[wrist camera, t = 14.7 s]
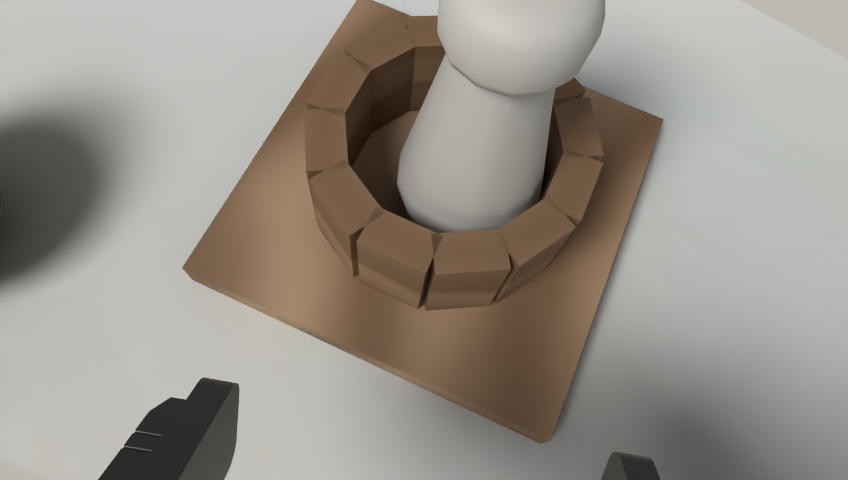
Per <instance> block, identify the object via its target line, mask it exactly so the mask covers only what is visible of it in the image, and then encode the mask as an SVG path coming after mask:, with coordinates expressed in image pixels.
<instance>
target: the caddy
mask: <svg viewBox="0 0 848 480" xmlns="http://www.w3.org/2000/svg"><path fill="white" fill-rule="evenodd" d="M437 24H438V16H409V15H407V14H404V13H402V12H400V11H397V10H395V9H392V8H390V7H387V6H385V5H382V4H380V3H378V2H375V1H373V0H357V1H356V2H355V4H354V5H353V7H352V8H351V10H350V11H349V13H348V14H347V16H346V18H345V19H344V21H343V22H342V24H341V25H340V27H339V28H338V30H337V31H336V33H335V34H334V36H333V37H332V39H331V41H330V42H329V44H328V45H327V47H326V48H325V50H324V51H323V53H322V54H321V56H320V57H319V59H318V60H317V62H316V64H315V65H314V67H313V68H312V70H311V71H310V73H309V74H308V76H307V77H306V79H305V80H304V82H303V83H302V85H301V87H300V88H299V90H298V91H297V93H296V94H295V96H294V97H293V99H292V100H291V102H290V103H289V105H288V106H287V108H286V110H285V111H284V113H283V114H282V116H281V117H280V119H279V120H278V122H277V123H276V125H275V126H274V128H273V129H272V131H271V133H270V134H269V136H268V137H267V139H266V140H265V142H264V143H263V145H262V146H261V148H260V149H259V151H258V152H257V154H256V156H255V157H254V159H253V160H252V162H251V163H250V165H249V166H248V168H247V169H246V171H245V172H244V174H243V175H242V177H241V179H240V180H239V182H238V183H237V185H236V186H235V188H234V189H233V191H232V192H231V194H230V195H229V197H228V198H227V200H226V202H225V203H224V205H223V206H222V208H221V209H220V211H219V212H218V214H217V215H216V217H215V218H214V220H213V221H212V223H211V225H210V226H209V228H208V229H207V231H206V232H205V234H204V235H203V237H202V238H201V240H200V241H199V243H198V244H197V246H196V248H195V249H194V251H193V252H192V254H191V255H190V257H189V258H188V260H187V261H186V263H185V264H184V266H183V267H182V268H183V269H184V270H185V271H186V273H187V274H188V275H189V276H190V277H191V278H192V280H194V281H197V282H199V283H201V284H203V285H205V286H207V287H209V288H211V289H214V290H216V291H218V292H220V293H222V294H224V295H226V296H228V297H231V298H233V299H235V300H237V301H239V302H241V303H243V304H245V305H248V306H250V307H252V308H254V309H256V310H258V311H260V312H263V313H265V314H267V315H269V316H271V317H273V318H275V319H277V320H280V321H282V322H284V323H286V324H288V325H290V326H292V327H294V328H297V329H299V330H301V331H303V332H305V333H307V334H309V335H311V336H314V337H316V338H318V339H320V340H322V341H324V342H326V343H328V344H331V345H333V346H335V347H337V348H339V349H341V350H343V351H345V352H348V353H350V354H352V355H354V356H356V357H358V358H360V359H362V360H365V361H367V362H369V363H371V364H373V365H375V366H377V367H379V368H382V369H384V370H386V371H388V372H390V373H392V374H394V375H397V376H399V377H401V378H403V379H405V380H407V381H409V382H411V383H414V384H416V385H418V386H420V387H422V388H424V389H426V390H428V391H431V392H433V393H435V394H437V395H439V396H441V397H443V398H445V399H448V400H450V401H452V402H454V403H456V404H458V405H460V406H462V407H465V408H467V409H469V410H471V411H473V412H475V413H477V414H479V415H482V416H484V417H486V418H488V419H490V420H492V421H494V422H496V423H499V424H501V425H503V426H505V427H507V428H509V429H511V430H513V431H516V432H518V433H520V434H522V435H524V436H526V437H528V438H530V439H533V440H535V441H537V442H539V443H544V442H547V441H551V438H552V435H553V433H554V430H555V427H556V424H557V421H558V418H559V415H560V413H561V410H562V407H563V404H564V401H565V398H566V395H567V393H568V390H569V387H570V384H571V381H572V378H573V375H574V373H575V370H576V367H577V364H578V361H579V358H580V355H581V353H582V350H583V347H584V344H585V341H586V338H587V336H588V333H589V330H590V327H591V324H592V321H593V318H594V316H595V313H596V310H597V307H598V304H599V301H600V298H601V296H602V293H603V290H604V287H605V284H606V281H607V278H608V276H609V273H610V270H611V267H612V264H613V261H614V258H615V256H616V253H617V250H618V247H619V244H620V241H621V238H622V236H623V233H624V230H625V227H626V224H627V221H628V218H629V216H630V213H631V210H632V207H633V204H634V201H635V198H636V196H637V193H638V190H639V187H640V184H641V181H642V178H643V176H644V173H645V170H646V167H647V164H648V161H649V158H650V156H651V153H652V150H653V147H654V144H655V141H656V138H657V136H658V133H659V130H660V127H661V124H662V121H663V119H661V118H659V117H656V116H654V115H651V114H649V113H646V112H644V111H641V110H639V109H637V108H634V107H632V106H629V105H627V104H624V103H622V102H619V101H617V100H615V99H612V98H610V97H607V96H605V95H602V94H600V93H597V92H595V91H593V90H590V89H588V88H585V87H583V86H582V85H581V84H580V83H579V82H578V81H577V80H576V79H575V78H573V79H571V80H570V81H568V82H566V83H564V84H563V85H561V86H559V87H557V88H555V94H554V100H553V106H552V112H551V120H550V127H549V135H548V143H547V150H546V158H545V166H544V174H543V181H542V189H541V197H540V201H539V203H537V204H536V205H534V206H533V207H531V208H530V209H528V210H527V211H525V212H523V213H522V214H520V215H519V216H517V217H516V218H514V219H513V220H511V221H510V222H508V223H507V224H505V225H504V226H502V227H501V228H499V229H495V230H480V231H464V232H449V233H436V232H434V231H431V230H429V229H427V228H425V227H422V226H420V225H418V224H416V223H415V222H414V221H413V220H412V219H411V218H410V217H409V215H408V213H407V210H406V208H405V205H404V202H403V200H402V197H401V195H400V192H399V189H398V185H397V179H398V170H399V161H400V154H401V151H402V149H403V147H404V145H405V142H406V140H407V138H408V136H409V134H410V131H411V129H412V127H413V125H414V123H415V120H416V118H417V116H418V114H419V111H420V109H421V107H422V105H423V103H424V100H425V98H426V96H427V94H428V91H429V89H430V87H431V85H432V83H433V80H434V78H435V76H436V74H437V71H438V69H439V67H440V65H441V63H442V60H443V58H444V56H445V54H446V52H445V50H444V48H443V46H442V43H441V41H440V39H439V36H438V33H437Z"/></svg>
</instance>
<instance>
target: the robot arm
mask: <svg viewBox="0 0 848 480" xmlns="http://www.w3.org/2000/svg"><path fill="white" fill-rule="evenodd" d="M238 404H239V385H238V384H237V383H232V382H226V381H220V380H215V379H209V378H201V379H200V381H199V382H198V383H197V385H196V386H195V388H194V389H193V391H192V392H191V394H190V395H189V396H188V398H187V399H186V400H184V399H178V398H172V397H171V398H169V399H168V400H166V401H164V402H163V403H161V404H160V405H158V406H157V407H155V408H154V409H152V410H151V411H149V412H148V414H147V415H146V416H145V418H144V419H143V420H142V422H141V423H140V424H139V426H138V427H137V428H136V431H135V433H133V434H132V435H131V436H130V438H129V439H128V440H127V442H126V443H125V444H124V448H123V449H121V450H120V451H119V453H118V454H117V455H116V457H115V458H114V459H113V461H112V462H111V463H110V465H109V466H108V467H107V469H106V470H105V471H104V473H103V474H102V475H101V477H100V478H99V479H98V480H224V478H225V476H226V474H227V472H228V470H229V468H230V465H231V462H232V459H233V455H234V451H235V446H236V437H237V421H238ZM601 480H660V478H659V475H658V472H657V470H656V467H655V465H654V463H653V461H652V459H650V458H648V457H642V456H637V455H631V454H625V453H620V452H613V453H612V454H611V456H610V457H609V460H608V463H607V465H606V468H605V471H604V474H603V477H602V479H601Z"/></svg>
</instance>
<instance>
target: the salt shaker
mask: <svg viewBox="0 0 848 480" xmlns="http://www.w3.org/2000/svg"><path fill="white" fill-rule="evenodd" d="M604 18H605V0H439V9H438V24H437V33H438V36H439V39H440V41H441V43H442V46H443V48H444V50H445V52H446V54H445V56H444V58H443V60H442V63H441V65H440V67H439V69H438V71H437V74H436V76H435V78H434V80H433V83H432V85H431V87H430V89H429V91H428V94H427V96H426V98H425V100H424V103H423V105H422V107H421V109H420V111H419V114H418V116H417V118H416V120H415V123H414V125H413V127H412V129H411V131H410V134H409V136H408V138H407V140H406V142H405V145H404V147H403V149H402V151H401V154H400V161H399V170H398V179H397V185H398V189H399V192H400V195H401V197H402V200H403V202H404V205H405V208H406V210H407V213H408V215H409V217H410V218H411V219H412V220H413V221H414V222H415V223H416V224H418V225H420V226H422V227H425V228H427V229H429V230H431V231H434V232H436V233H449V232H464V231H480V230H495V229H499V228H501V227H502V226H504V225H505V224H507V223H508V222H510V221H511V220H513V219H514V218H516V217H517V216H519V215H520V214H522V213H523V212H525V211H527V210H528V209H530V208H531V207H533V206H534V205H536V204H537V203H539V201H540V197H541V189H542V181H543V174H544V166H545V158H546V150H547V143H548V135H549V127H550V120H551V112H552V106H553V100H554V94H555V88H557V87H559V86H561V85H563V84H564V83H566V82H568V81H570V80H571V79H573V78H574V77H575V76H576V75H577V74H578V72H579V70H580V69H581V67H582V65H583V64H584V62H585V60H586V59H587V57H588V56H589V54H590V52H591V51H592V49H593V47H594V45H595V44H596V42H597V40H598V38H599V37H600V35H601V31H602V27H603V22H604Z"/></svg>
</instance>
